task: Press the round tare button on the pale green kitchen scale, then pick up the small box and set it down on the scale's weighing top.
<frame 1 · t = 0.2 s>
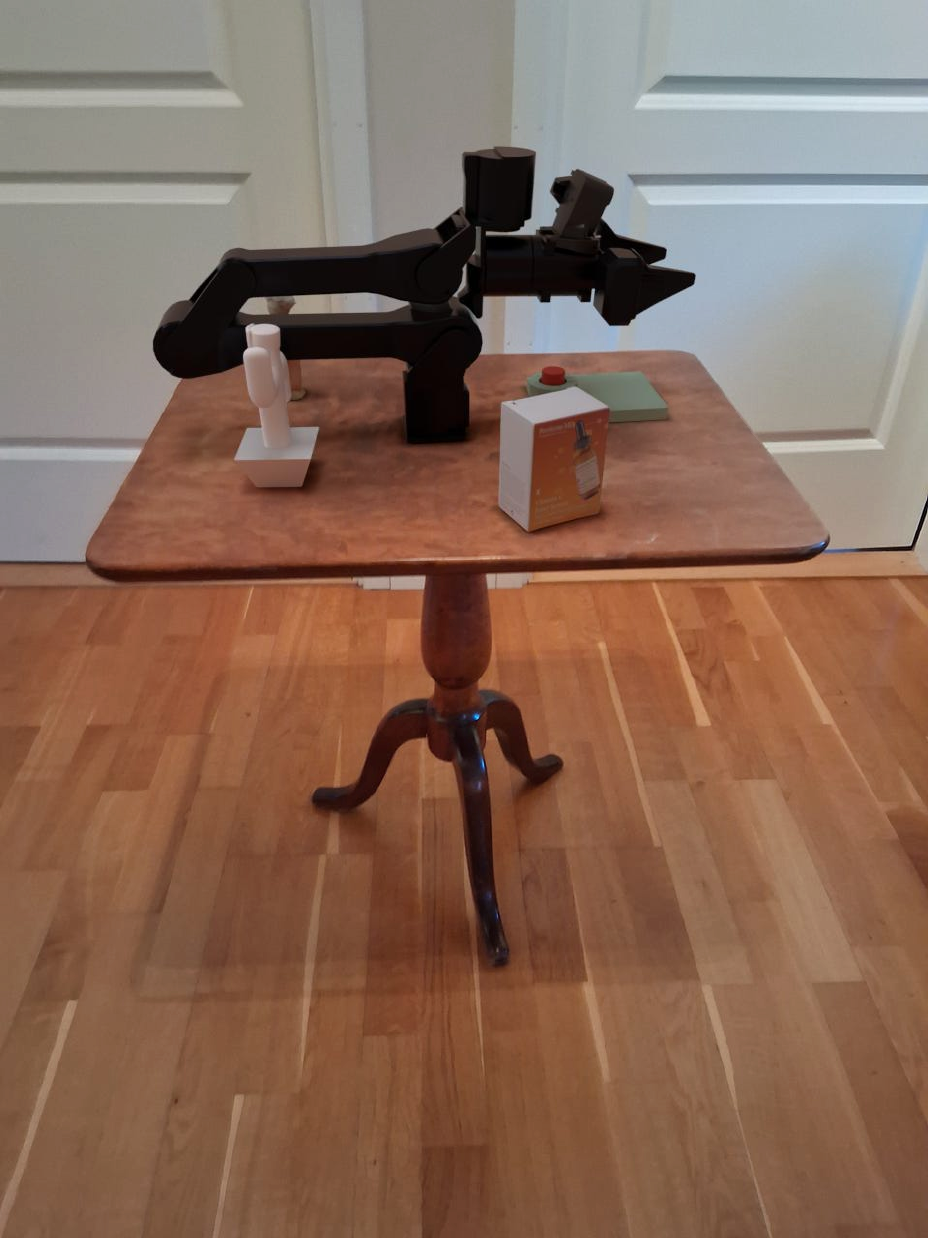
hand: (679, 265, 91), 16 cm above the table, tool horizontal, fingers open, 9 cm apart
grandmother figurine: (291, 396, 106), on the table
figurine: (282, 478, 89), on the table
tare button: (553, 376, 101), point 3 cm above the table, slide at 0.1 cm
small box: (548, 512, 83), on the table
scale: (594, 403, 103), on the table
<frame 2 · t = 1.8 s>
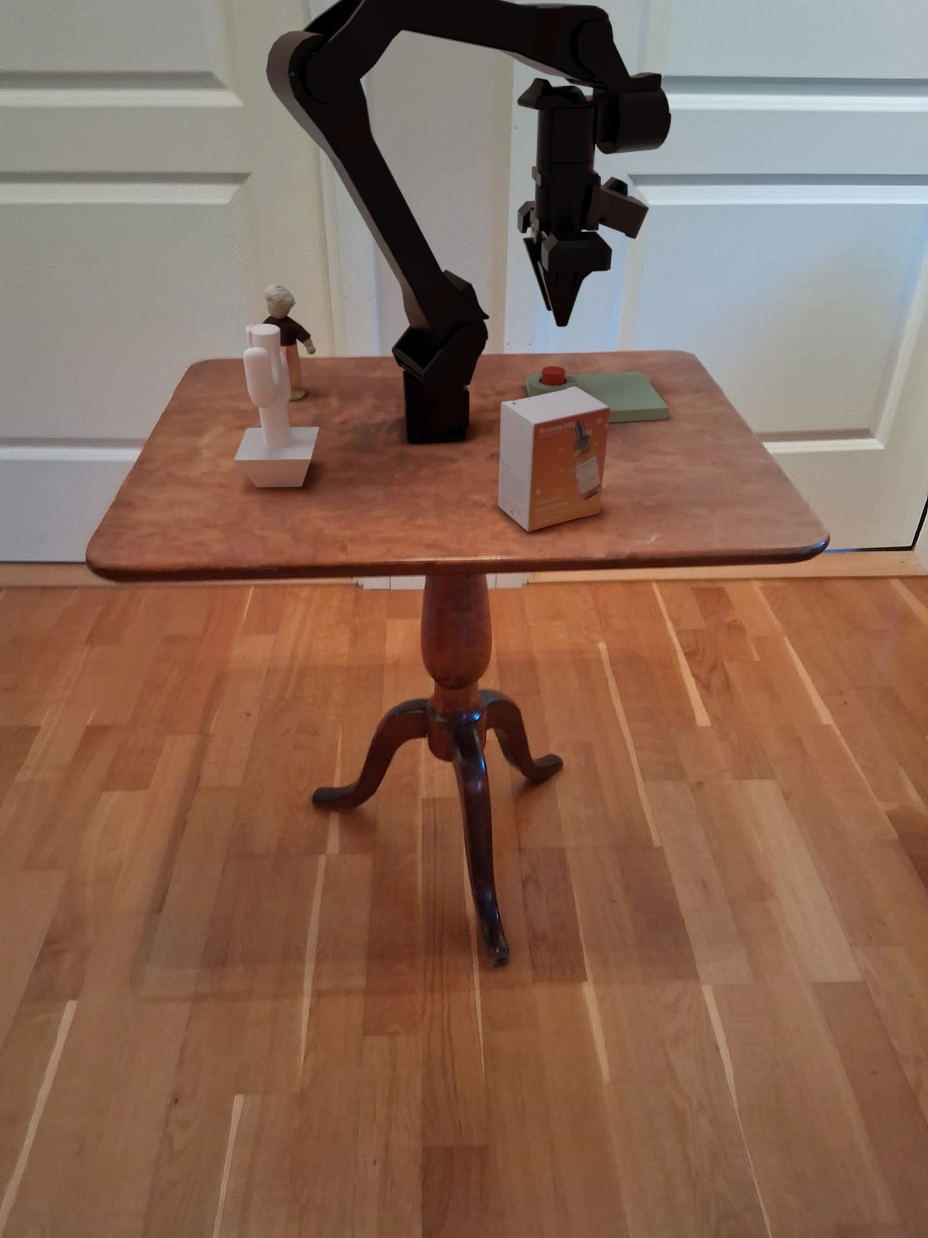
hand: (556, 318, 97), 10 cm above the table, tool pointing down, fingers open, 5 cm apart
nothing on the table moved.
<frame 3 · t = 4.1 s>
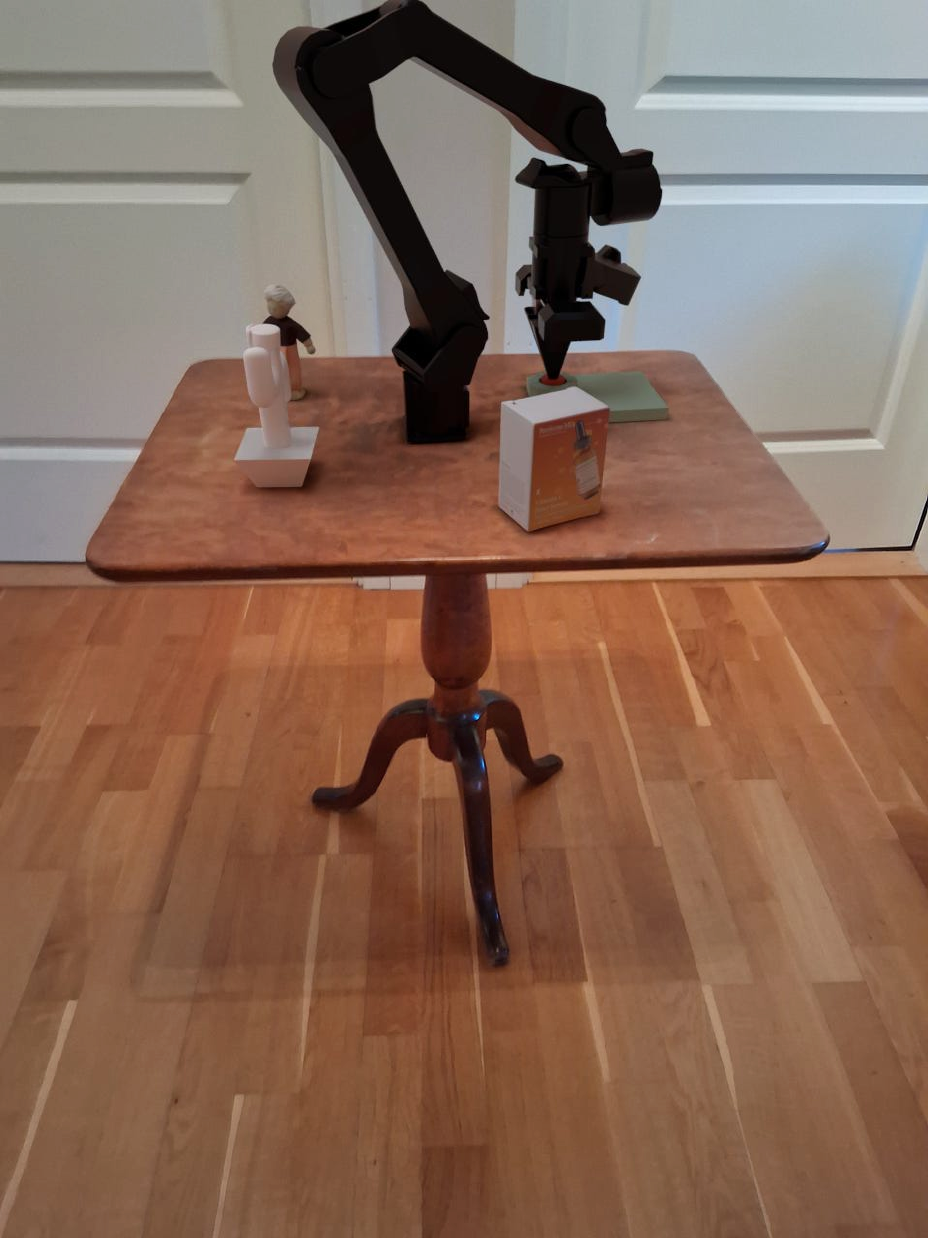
hand: (552, 377, 101), 3 cm above the table, tool pointing down, fingers closed, pressing on tare button
tare button: (552, 384, 102), point 3 cm above the table, slide at -0.7 cm, touching gripper
everything else where it was.
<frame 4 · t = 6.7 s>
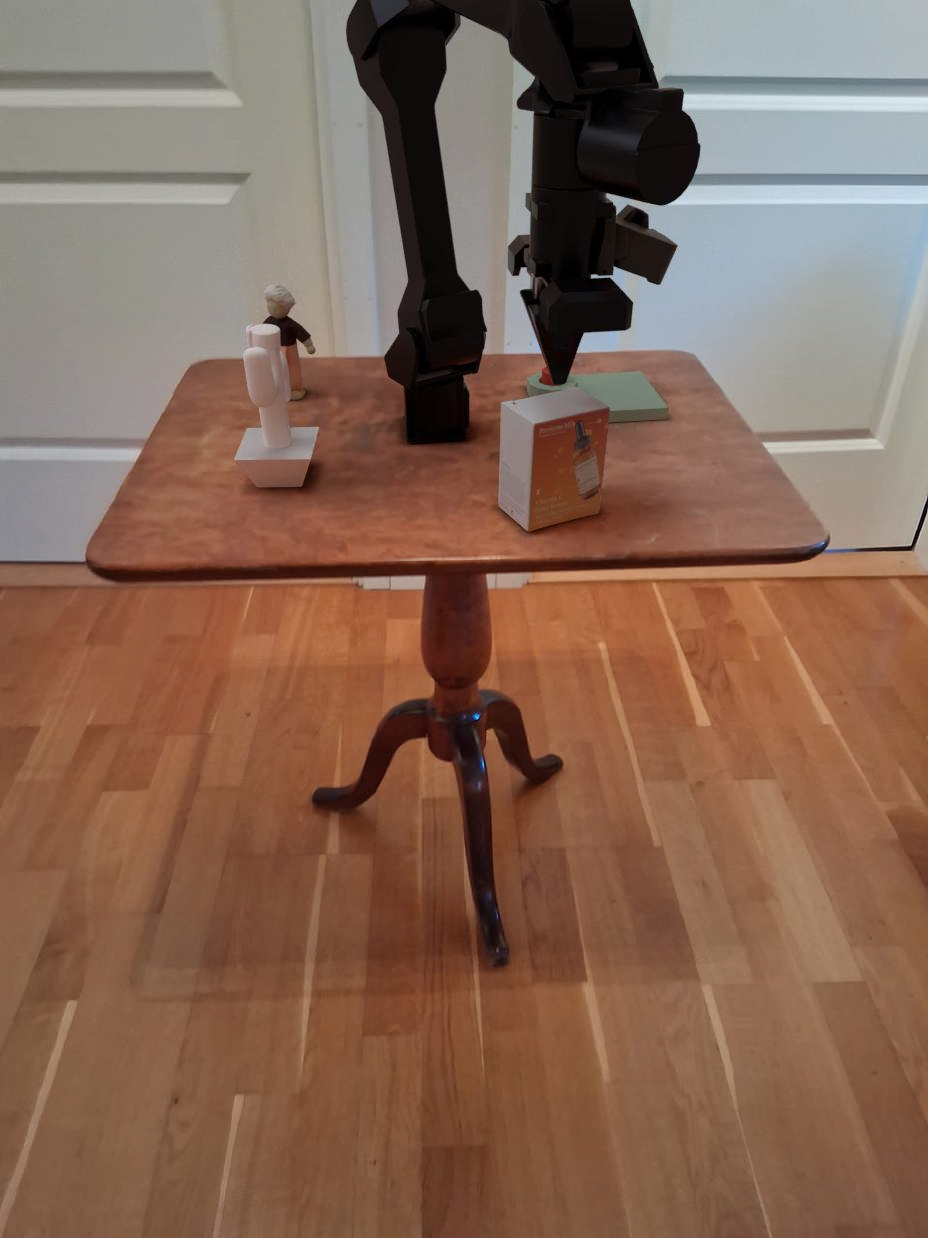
hand: (558, 382, 76), 12 cm above the table, tool pointing down, fingers closed
tare button: (553, 376, 101), point 3 cm above the table, slide at 0.1 cm
everything else where it was.
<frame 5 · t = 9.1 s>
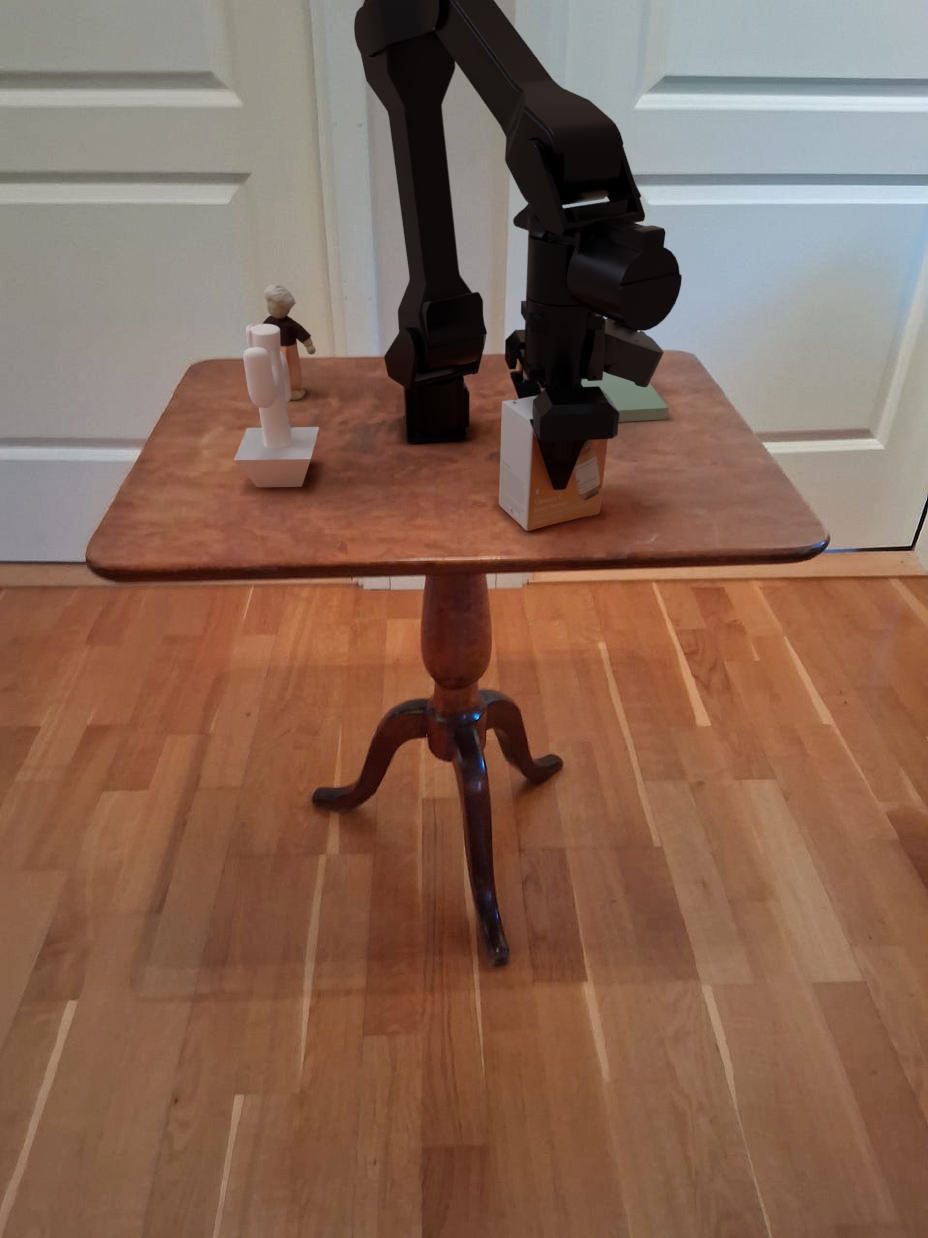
hand: (551, 471, 81), 4 cm above the table, tool pointing down, fingers closed on small box, 6 cm apart
small box: (549, 511, 84), on the table, touching gripper
everything else where it was.
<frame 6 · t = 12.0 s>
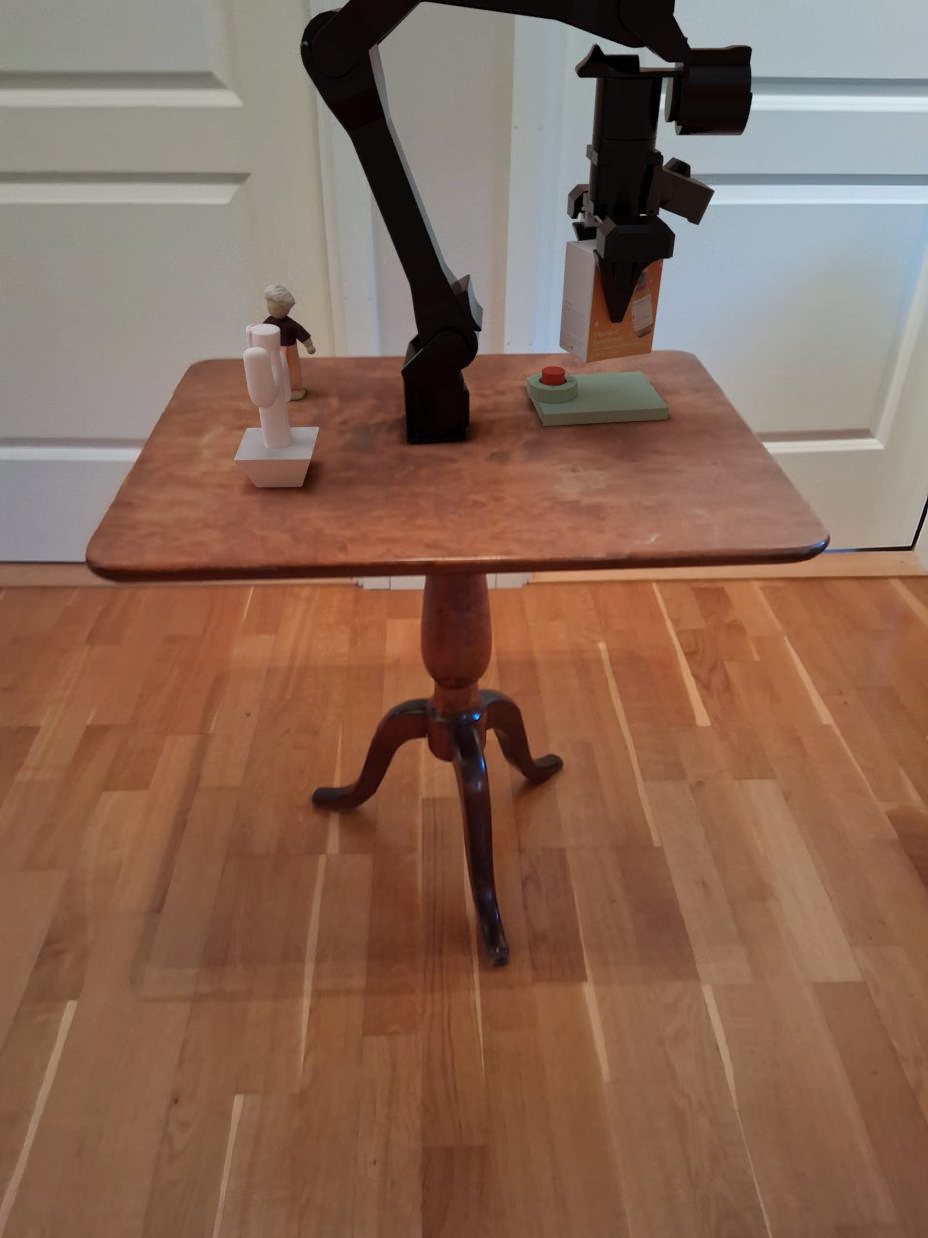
hand: (608, 311, 89), 13 cm above the table, tool pointing down, fingers closed on small box, 6 cm apart
small box: (605, 352, 92), point 9 cm above the table, touching gripper
everything else where it was.
when the fingers open (5 cm above the table, at t = 14.8 s): small box stays where it is, resting on scale.
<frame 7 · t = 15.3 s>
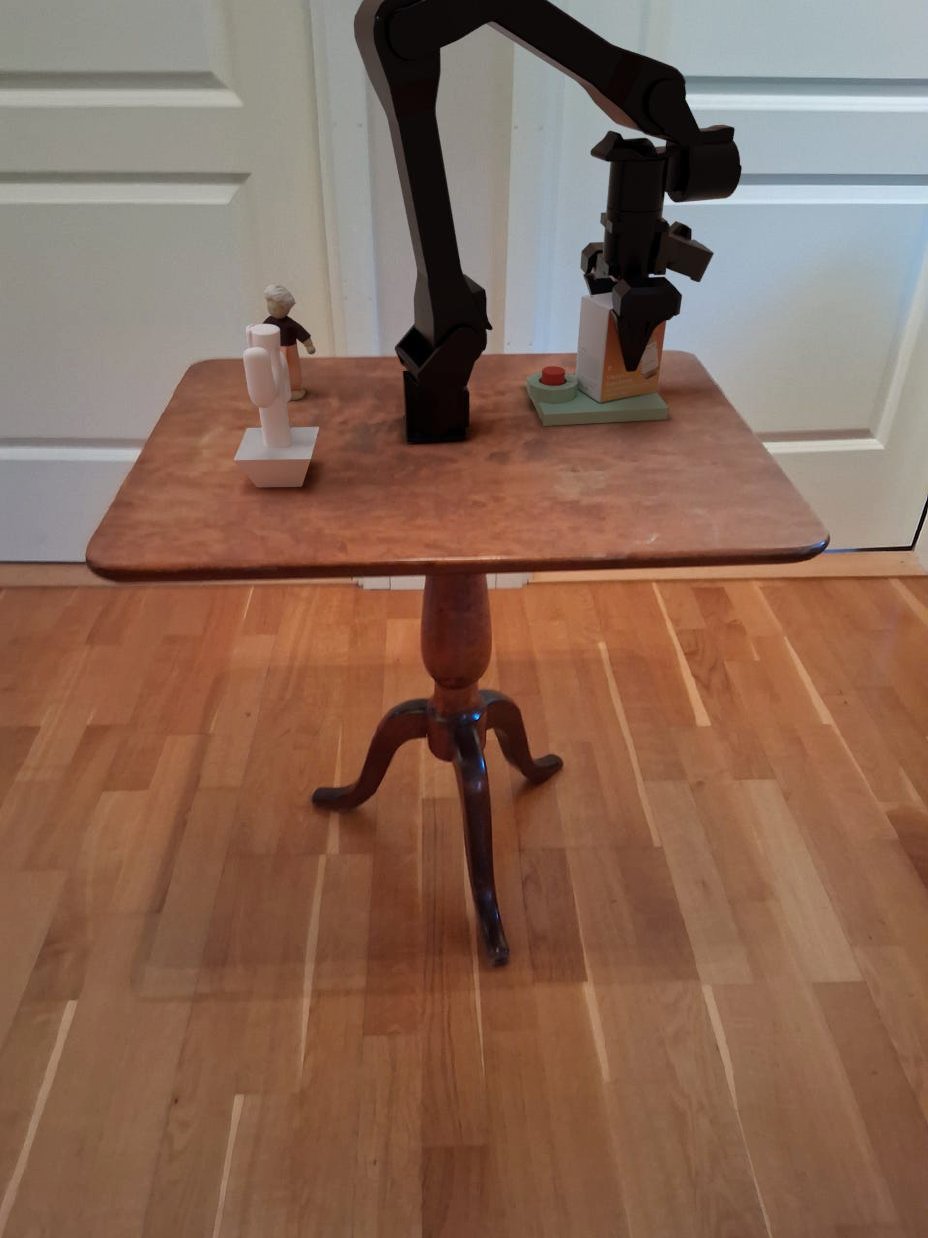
hand: (619, 355, 100), 5 cm above the table, tool pointing down, fingers open, 9 cm apart
small box: (615, 391, 103), point 1 cm above the table, touching scale
everything else where it was.
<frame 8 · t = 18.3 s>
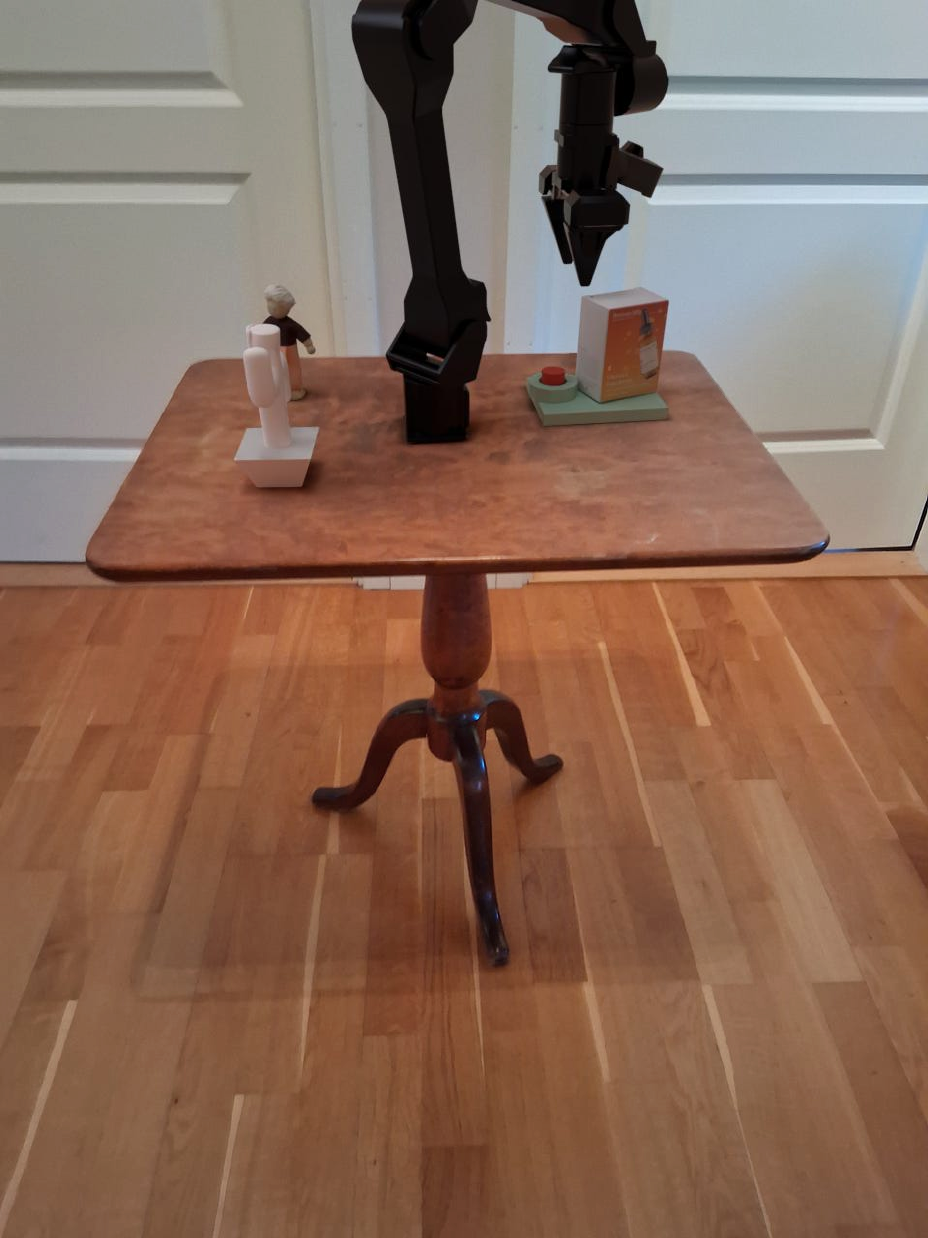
hand: (575, 274, 103), 12 cm above the table, tool pointing down, fingers open, 9 cm apart
nothing on the table moved.
at the end: tare button pushed in 1.0 cm at the most during the clip, back to where it started at the end; small box inside the target area on the scale (0.1 cm from its centre), point 1.2 cm above the scale's base; small box tilted 0° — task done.
